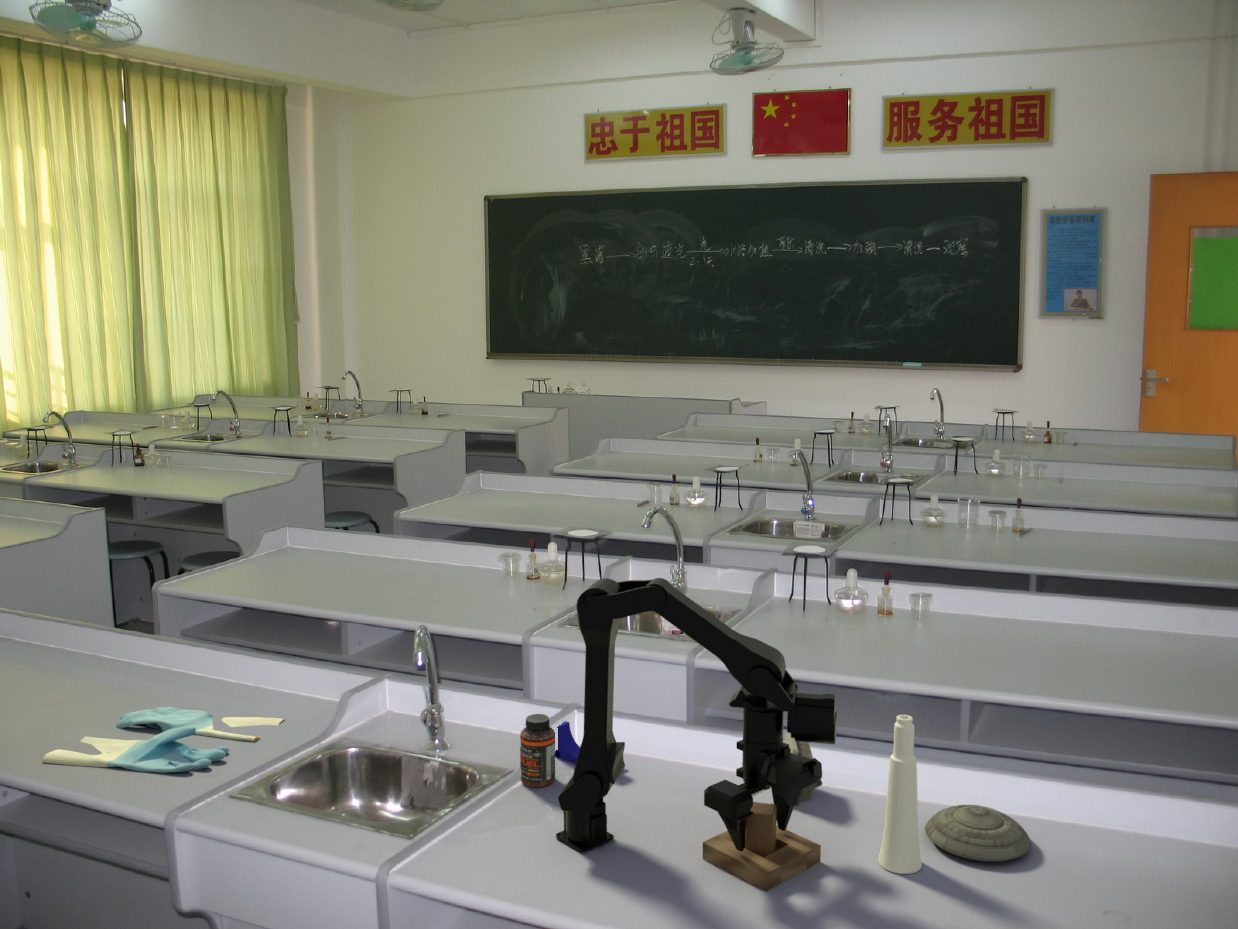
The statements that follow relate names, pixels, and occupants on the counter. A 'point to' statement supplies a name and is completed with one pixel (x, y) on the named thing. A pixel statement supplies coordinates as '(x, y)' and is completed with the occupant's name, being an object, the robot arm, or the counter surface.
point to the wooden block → (761, 829)
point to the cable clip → (566, 744)
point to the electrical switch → (798, 747)
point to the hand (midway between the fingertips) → (761, 840)
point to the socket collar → (763, 858)
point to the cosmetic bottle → (901, 804)
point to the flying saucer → (978, 833)
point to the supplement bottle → (537, 752)
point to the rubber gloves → (160, 742)
